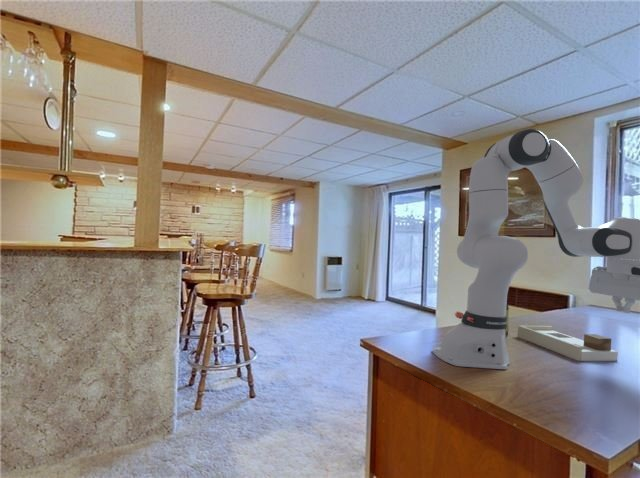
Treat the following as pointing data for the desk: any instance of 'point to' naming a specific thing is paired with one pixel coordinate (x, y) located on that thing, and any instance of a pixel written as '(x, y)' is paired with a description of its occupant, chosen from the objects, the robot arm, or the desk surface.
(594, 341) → the walnut block
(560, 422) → the desk surface
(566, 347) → the board
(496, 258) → the robot arm
